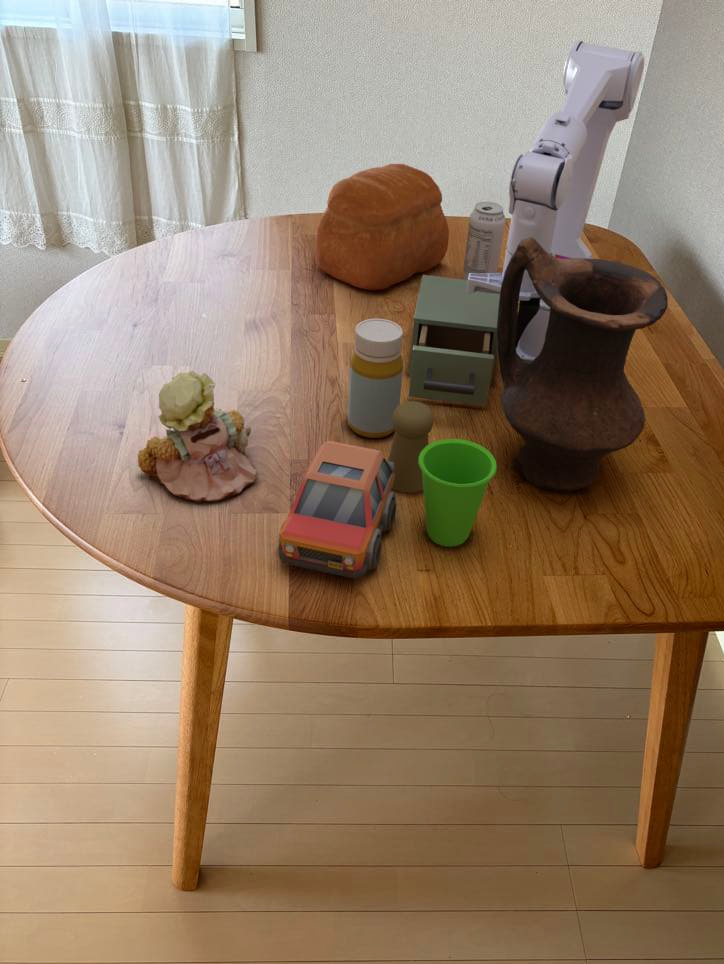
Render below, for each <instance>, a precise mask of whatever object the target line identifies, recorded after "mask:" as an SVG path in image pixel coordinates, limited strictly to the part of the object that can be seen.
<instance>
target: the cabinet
mask: <svg viewBox="0 0 724 964" xmlns="http://www.w3.org/2000/svg"><path fill="white" fill-rule="evenodd" d="M467 284H468V280H463V279H462V278H453V277H447V276H446V277H444V276H437V275H436V276H435V275H427V274H422V276H421V281H420V285H419V291H418V296H417V301H416V307H415V311H414V316H413V324H412V325H413V326H412V336H411V347H410V348H411V349H410V357H409V358H410V359H409V371H408V375H409V376H410V375H411V364H412V353H413V346H419V341H420V336H421V330H422V325H423V324H427V325H436V326H444V327H453V328H461V329H470V330H478V331H487V332H490V345H489V354H491V355H494V361H493V367H492V373H491V380H490V386H492V382H493V375H494V369H495V363H496V358H497V319H498V309H499V299H500V294H495V293H486V292H477V291H475V293H467Z"/></svg>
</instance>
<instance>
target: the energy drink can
mask: <svg viewBox="0 0 724 964" xmlns="http://www.w3.org/2000/svg"><path fill="white" fill-rule="evenodd" d="M504 209H505V208H504V207H503V206H502V205H501V204H500V203H496V202H492V201H480V202H477V203H476V204H475V205H474V209H473V210H472V211H471V213H470V214H469V219H468V220H469V222H468V227H467V228H468V229H467V238H466V245H465V252H464V262H463V270H462V277H461V279H463V280H468V276H469V273H474V274H487V273H499V265H500V259H501V253H502V247H503V246H502V245H503V242H504V241H503V239H504V233H505V228H506V227H505V226H506V220H507V219H506V215H505V214H504Z"/></svg>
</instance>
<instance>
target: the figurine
mask: <svg viewBox="0 0 724 964" xmlns="http://www.w3.org/2000/svg"><path fill="white" fill-rule="evenodd" d="M215 386H216V382H215V381H214V380H213V378H211V377H210V376H209V375H208V374H207V373H206V372H203V373H202V374H201V375H200V374H199V373H197V372H196V371H194V370H191V371H189V372H179V373H177V374H176V375H174V376H173V377H172V380H171V381H169V382H166V383H164V384H163V385H162V387H161V389H160V390H159V397H158V408H159V410H160V412H161V414H160V415H158V416H157V417H158V419H159V420H160V423H161V424H162V425H163V426H164V427H166V428H167V429H165V434H166V435H165V436H163V437H161V438H160V437H159V436H154V437H151V438H150V439H147V442H146V445H145V447H144V448H143V449H140V450H139V451H138V454H137V463H138V465H137V466H138V468H139V469H140V470H141V472H142V473H144V475H146V476H147V477H149V478H151V479H153V480H154V481H156V482H158V483H159V484H161V485H163V486H164V487H166V489H167V490H168V491H169V492H171V494H173V496H176V497H179V498H182V499H185V500H188V501H193V502H199V503H205V502H220V501H222V500H225V499H228V498H230V497H233V496H236V495H240V493H242V492H243V491H245V490H246V489H247V488H249V487H250V486H252V485H253V484H254V483H255V480H256V478H257V472H258V470H256V469H254V467H253V466H252V464H251V462H250V460H249V459H248V458H247V455H246V451H245V450H246V448H247V447H248V443H249V438H250V435H251V432H252V428H251V427H245V426H244V425H245V417H244V416H243V415H242V414H241V413H240V411H238V410H235V409H231V410H229V411H225V410H222V409H221V408H215V394H214V389H215V388H216V387H215Z"/></svg>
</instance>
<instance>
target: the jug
mask: <svg viewBox="0 0 724 964" xmlns="http://www.w3.org/2000/svg"><path fill="white" fill-rule="evenodd" d="M525 270H527V271H528V274H529V277H530V279H531V280H532V283H533V286H534V288H535V290H536V292H537V293H538V295H539V297H540V298H541V299H542V300H543V301H544V302H545V303H546V305H547V306H548V307H550V315H549V321H548V326H547V330H546V334H545V342H544V345H543V348H542V350H541V352H540V354H539V355H538V356H537V357H536V358H535V359H534V360H533V361H527V360H522V359H521V358H520V356H519V355H518V354H517V353H516V346H515V343H516V331H517V321H518V311H517V309H518V310H519V302H520V300H519V295H520V288H521V284H522V279H523V275H524V271H525ZM518 301H519V302H518ZM668 301H669V300H668V295H667V290H666V288H665V287H664V286H663V285H662V283H661V282H660V281H659V280H658V279H657V278H656V277H654V276H653V275H652V274H650V273H649V272H647V271H645V270H643V269H641V268H638V267H635V266H633V265H630V264H627V263H623V262H619V261H615V260H614V261H613V260H609V259H601V258H593V259H585V258H574V259H558V258H556V257H554V256H552V255H550V254H548V253H547V252H546V251H545V250H544V249H543V248H542V247H541V246H540V244H539V243H538V242H537V241H536V240H535V239H534V238H533V237H527V238H524V239H522V240H521V242H520V243H519V245H518V247H517V249H516V251H515V253H514V254H513V256H512V257H511V260H510V262H509V264H508V266H507V268H506V270H505V273H504V277H503V281H502V285H501V291H500V299H499V309H498V319H497V351H496V358H497V362H498V368H499V373H500V377H501V382H502V391H501V406H502V411H503V415H504V417H505V419H506V421H507V422H508V424H509V425H510V427H511V428H512V430H514V431H515V432H516V433H517V435H519V436H520V437H521V439H522V440H523V441H524V442H525V443H524V444H523V445H522V446H521V448H520V449H519V452H518V454H517V466H518V468H519V470H520V471H521V472H522V474H524V476H525V477H524V478H526V480H528V481H529V482H530V483H532V484H534V485H535V486H537V487H538V488H539V487H540V488H542V489H544V490H545V489H546V490H549V491H552V492H553V491H554V492H563V493H564V492H565V493H566V492H567V493H568V492H573V491H580V490H583V489H586V488H588V487H589V486H590V485H591V484H592V483H594V482H595V481H596V479H597V478H598V475H599V474H600V467H601V466H600V462H599V461H600V460H601V459H602V458H604V457H607V455H609V454H612V453H614V452H617V451H619V450H622V449H623V450H624V449H626V448H627V447H629V446H631V445H632V444H633V443H635V441H636V440H637V439H638V438H639V437H640V435H641V434H642V432H643V431H644V429H645V425H646V416H645V415H646V414H645V410H644V407H643V405H642V402H641V399H640V397H639V395H638V394H637V392H636V390H635V389H634V387H633V386H632V384H631V383H630V382H629V380H628V377H627V376H626V372H625V366H626V363H627V357H628V353H629V349H630V346H631V343H632V341H633V338H634V336H635V333H636V330H641V329H645V328H648V327H650V326H653V325H654V324H655V323H657V321H659V320H660V319H662V317H663V316H664V315H665V313H666V310H667V309H668V304H669V303H668Z"/></svg>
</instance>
